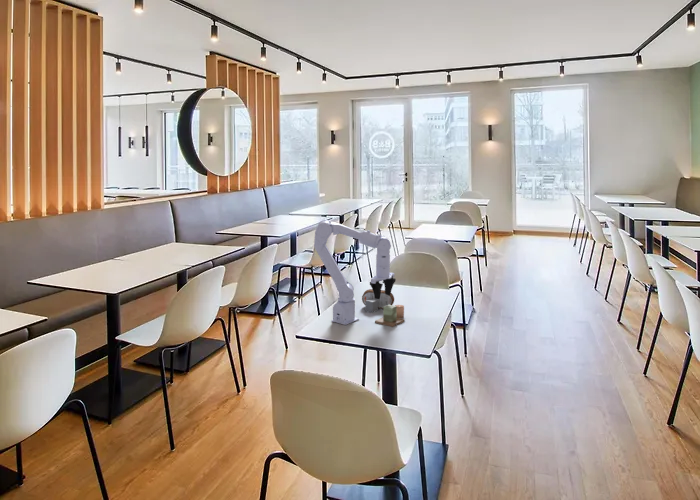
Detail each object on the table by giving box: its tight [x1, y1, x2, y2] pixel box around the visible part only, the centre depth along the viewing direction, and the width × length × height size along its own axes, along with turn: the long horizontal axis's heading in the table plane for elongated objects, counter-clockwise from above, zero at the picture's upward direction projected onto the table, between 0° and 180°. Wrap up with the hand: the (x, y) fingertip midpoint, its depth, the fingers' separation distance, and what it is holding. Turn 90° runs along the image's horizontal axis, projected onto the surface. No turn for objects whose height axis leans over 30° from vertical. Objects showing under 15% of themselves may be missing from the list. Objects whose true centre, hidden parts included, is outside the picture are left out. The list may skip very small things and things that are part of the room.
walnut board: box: [374, 317, 406, 328], centre depth 203 cm, size 9×9×1 cm
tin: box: [361, 288, 395, 309], centre depth 222 cm, size 15×3×8 cm, turn 74°
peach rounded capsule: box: [394, 304, 405, 319], centre depth 209 cm, size 4×4×5 cm
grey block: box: [365, 299, 379, 313], centre depth 218 cm, size 4×4×5 cm
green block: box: [382, 304, 397, 322], centre depth 202 cm, size 4×4×6 cm
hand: (382, 296), depth 203 cm, fingers open, 7 cm apart
